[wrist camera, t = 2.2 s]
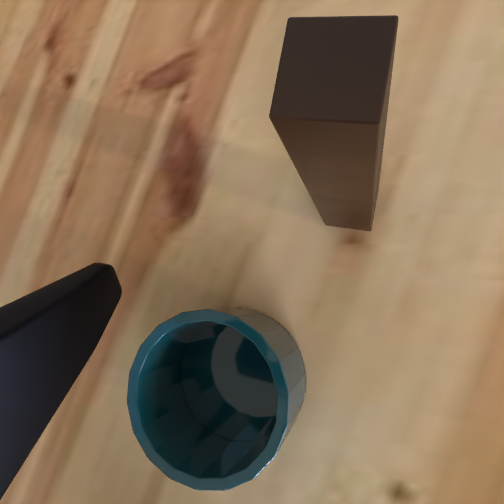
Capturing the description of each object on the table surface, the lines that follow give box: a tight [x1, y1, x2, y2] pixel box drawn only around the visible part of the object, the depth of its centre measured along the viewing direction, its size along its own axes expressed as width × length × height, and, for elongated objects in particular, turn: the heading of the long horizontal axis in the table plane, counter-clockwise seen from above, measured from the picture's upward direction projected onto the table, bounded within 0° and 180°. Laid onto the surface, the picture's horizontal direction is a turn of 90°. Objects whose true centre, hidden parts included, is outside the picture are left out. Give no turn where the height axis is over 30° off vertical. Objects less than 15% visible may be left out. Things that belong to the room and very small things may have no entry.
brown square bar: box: [269, 15, 398, 231], centre depth 15 cm, size 2×2×13 cm
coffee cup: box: [127, 307, 306, 490], centre depth 19 cm, size 7×8×5 cm
